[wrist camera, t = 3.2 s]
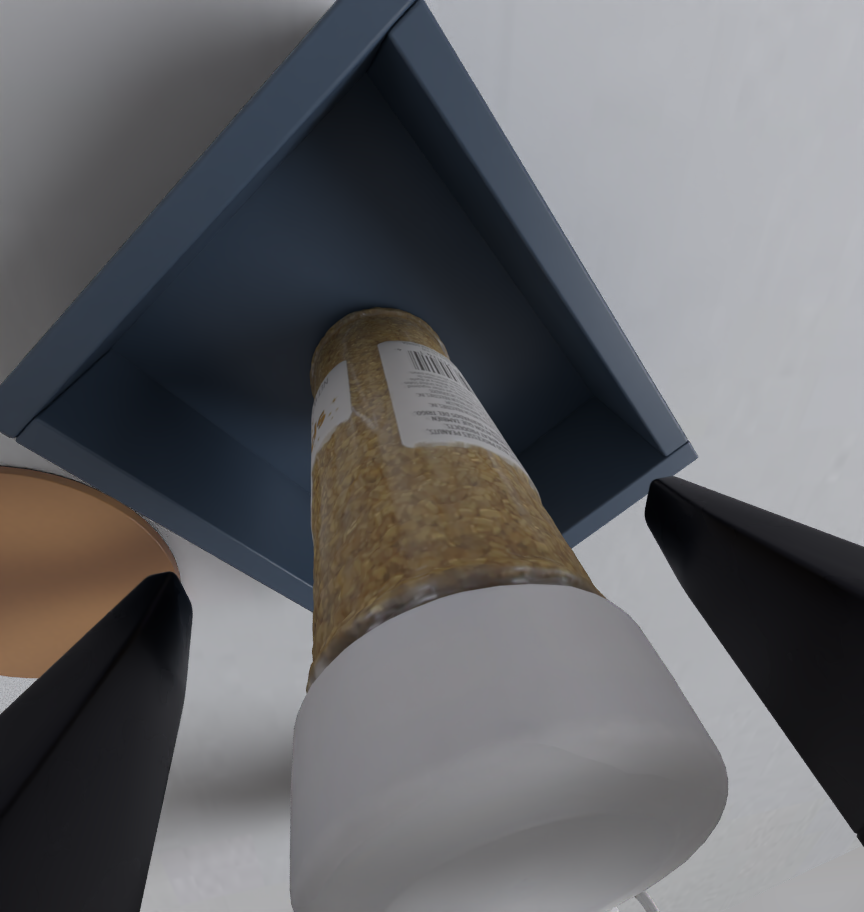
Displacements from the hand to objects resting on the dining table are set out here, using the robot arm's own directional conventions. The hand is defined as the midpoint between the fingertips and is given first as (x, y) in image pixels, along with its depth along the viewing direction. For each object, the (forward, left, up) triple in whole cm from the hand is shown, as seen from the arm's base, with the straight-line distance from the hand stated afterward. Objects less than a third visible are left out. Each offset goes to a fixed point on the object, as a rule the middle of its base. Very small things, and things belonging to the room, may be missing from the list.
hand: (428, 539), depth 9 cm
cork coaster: (-1, +15, -9) cm, 17 cm away
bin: (0, 0, -9) cm, 9 cm away
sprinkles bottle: (0, 0, -8) cm, 8 cm away
